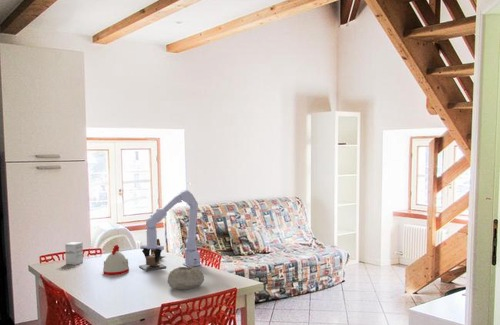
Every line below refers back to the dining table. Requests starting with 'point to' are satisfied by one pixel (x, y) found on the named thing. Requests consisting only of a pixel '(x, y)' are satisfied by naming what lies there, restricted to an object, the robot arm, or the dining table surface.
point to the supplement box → (74, 253)
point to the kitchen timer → (115, 263)
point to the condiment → (155, 249)
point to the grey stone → (185, 278)
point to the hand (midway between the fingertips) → (152, 261)
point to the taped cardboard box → (151, 260)
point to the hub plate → (152, 267)
